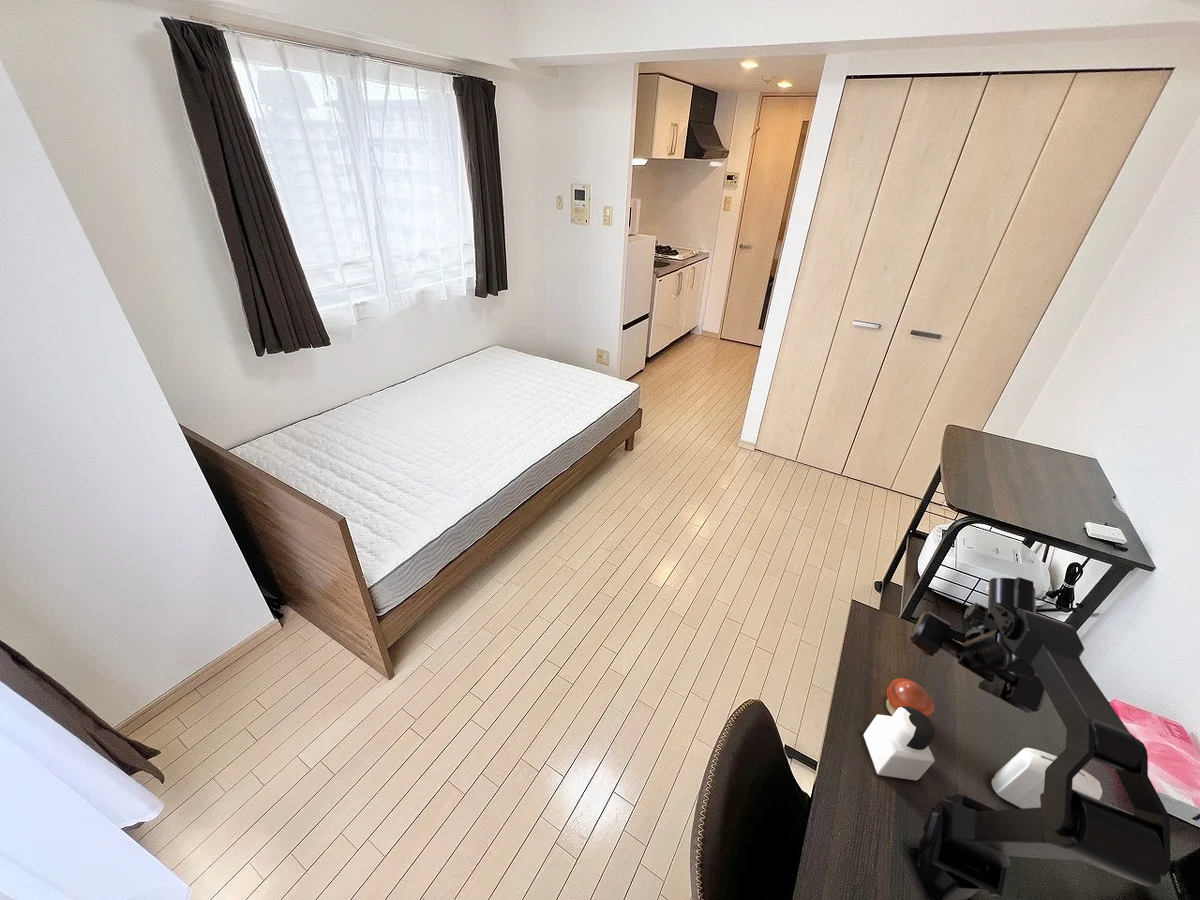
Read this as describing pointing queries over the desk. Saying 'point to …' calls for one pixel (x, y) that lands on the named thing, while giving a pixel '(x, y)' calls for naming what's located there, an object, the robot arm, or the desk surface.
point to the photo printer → (1035, 779)
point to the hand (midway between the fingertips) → (952, 668)
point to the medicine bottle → (901, 743)
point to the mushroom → (908, 697)
